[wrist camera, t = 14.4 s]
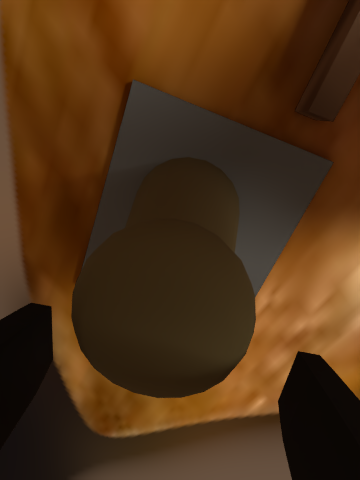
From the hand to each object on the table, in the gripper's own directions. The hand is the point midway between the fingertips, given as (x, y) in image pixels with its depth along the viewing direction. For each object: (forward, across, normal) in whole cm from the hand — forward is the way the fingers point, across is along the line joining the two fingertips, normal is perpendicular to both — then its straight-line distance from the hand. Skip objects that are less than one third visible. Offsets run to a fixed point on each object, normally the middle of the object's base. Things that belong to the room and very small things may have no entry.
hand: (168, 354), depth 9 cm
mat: (+10, 0, 0) cm, 10 cm away
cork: (+10, 0, -1) cm, 10 cm away
